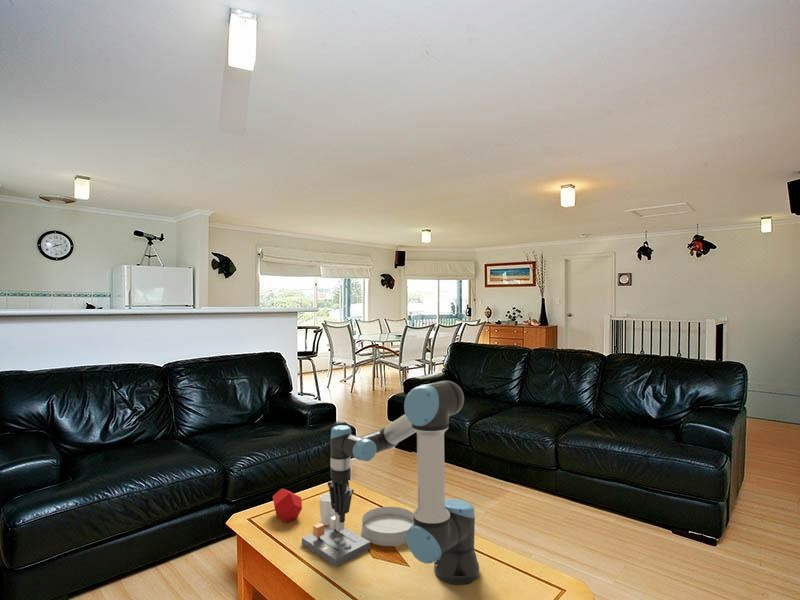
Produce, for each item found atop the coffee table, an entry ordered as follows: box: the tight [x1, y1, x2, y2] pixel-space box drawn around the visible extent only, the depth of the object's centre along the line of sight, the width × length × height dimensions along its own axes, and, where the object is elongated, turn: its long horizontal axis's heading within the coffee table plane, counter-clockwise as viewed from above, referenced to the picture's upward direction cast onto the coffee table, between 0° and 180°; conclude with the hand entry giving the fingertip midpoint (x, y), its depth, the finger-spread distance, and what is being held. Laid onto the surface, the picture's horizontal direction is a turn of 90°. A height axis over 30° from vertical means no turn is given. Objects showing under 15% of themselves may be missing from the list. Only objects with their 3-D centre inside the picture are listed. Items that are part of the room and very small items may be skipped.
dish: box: [360, 506, 414, 547], centre depth 182 cm, size 22×22×5 cm
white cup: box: [319, 492, 336, 526], centre depth 190 cm, size 8×8×10 cm
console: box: [301, 525, 371, 567], centre depth 171 cm, size 20×16×3 cm
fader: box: [312, 522, 325, 539], centre depth 171 cm, size 2×3×5 cm
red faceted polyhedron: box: [272, 488, 303, 523], centre depth 193 cm, size 12×12×15 cm
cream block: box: [329, 516, 336, 531], centre depth 177 cm, size 2×3×5 cm
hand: (340, 529), depth 175 cm, fingers closed
